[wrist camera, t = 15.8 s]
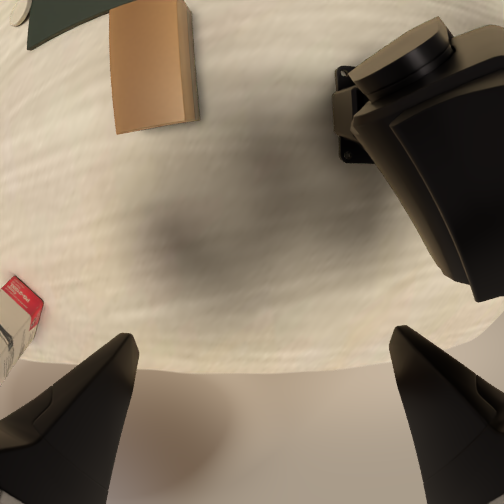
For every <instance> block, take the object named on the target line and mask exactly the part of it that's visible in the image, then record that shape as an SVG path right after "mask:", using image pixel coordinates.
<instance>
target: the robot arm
mask: <svg viewBox="0 0 504 504" xmlns="http://www.w3.org/2000/svg"><path fill="white" fill-rule="evenodd" d="M341 70H343V71H345V72H346V77H344V76H342V75H341ZM335 78H336V92H335V93H334V94H333V95H332V103H333V123H334V132H335V133H336V134H337V135H338V136H339V157H340V159H341V160H342V161H343V162H345V163H367V164H376V166H377V167H378V168H379V170H380V171H381V173H382V174H383V176H384V177H385V179H386V180H387V182H388V183H389V185H390V186H391V188H392V189H393V191H394V192H395V194H396V196H397V197H398V199H399V200H400V202H401V204H402V205H403V207H404V209H405V210H406V212H407V214H408V215H409V217H410V219H411V220H412V222H413V224H414V226H415V227H416V229H417V231H418V233H419V234H420V236H421V238H422V240H423V242H424V244H425V246H426V247H427V249H428V251H429V253H430V255H431V256H432V258H433V259H434V261H435V263H436V264H437V266H438V267H439V268H440V269H441V270H442V272H443V274H444V275H445V276H447V277H449V278H450V279H452V280H454V281H456V282H460V283H464V284H468V285H470V286H471V289H472V292H473V295H474V298H475V301H476V302H483V301H486V300H490V299H493V298H496V297H499V296H504V28H503V27H500V26H496V25H487V26H484V27H481V28H478V29H475V30H472V31H469V32H467V33H464V34H461V35H458V36H456V37H453V35H452V34H451V32H450V31H449V30H448V28H447V27H446V25H445V24H444V23H443V21H442V20H441V19H440V17H439V16H438V17H435V18H433V19H431V20H429V21H427V22H425V23H423V24H421V25H419V26H417V27H415V28H413V29H411V30H409V31H408V32H406V33H405V34H403V35H401V36H400V37H398V38H397V39H395V40H394V41H393V42H391V43H390V44H388V45H387V46H385V47H384V48H382V49H381V50H379V51H378V52H377V53H375V54H374V55H372V56H371V57H370V58H368V59H367V60H365V61H364V62H363V63H361V64H360V65H359V66H357V67H351V66H340V67H339V68H337V69H336V71H335ZM346 152H349V153H350V157H349V158H347V159H346V158H345V157H344V155H345V153H346ZM389 351H390V355H391V360H392V364H393V368H394V373H395V378H396V383H397V386H398V390H399V393H400V396H401V400H402V403H403V406H404V409H405V413H406V416H407V420H408V423H409V427H410V430H411V434H412V437H413V441H414V445H415V449H416V453H417V457H418V461H419V465H420V470H421V474H422V479H423V482H424V489H425V494H426V499H427V504H504V393H503V392H502V391H500V390H499V389H497V388H495V387H494V386H492V385H491V384H489V383H488V382H486V381H485V380H484V379H482V378H481V377H479V376H478V375H476V374H475V373H474V372H473V371H471V370H470V369H468V368H467V367H465V366H464V365H463V364H461V363H460V362H458V361H457V360H456V359H454V358H453V357H452V356H450V355H449V354H447V353H446V352H444V351H443V350H442V349H440V348H439V347H437V346H436V345H434V344H433V343H432V342H430V341H429V340H427V339H426V338H424V337H423V336H422V335H420V334H419V333H417V332H416V331H414V330H413V329H411V328H410V327H408V326H407V325H402V326H397V327H395V329H394V331H393V334H392V337H391V340H390V343H389ZM138 359H139V350H138V347H137V345H136V342H135V340H134V337H133V335H132V334H130V333H120V334H118V335H117V336H116V337H115V338H113V339H112V340H111V341H109V342H108V343H107V344H105V345H104V346H103V347H101V348H100V349H99V350H97V351H96V352H95V353H93V354H92V355H91V356H89V357H88V358H87V359H86V360H84V361H83V362H82V363H80V364H79V365H78V366H76V367H75V368H74V369H73V370H71V371H70V372H69V373H68V374H66V375H65V376H63V377H62V378H61V379H60V380H58V381H57V382H56V383H54V384H53V386H50V387H49V388H48V389H47V390H45V391H44V392H43V393H41V394H40V395H39V396H38V397H36V398H35V399H34V400H32V401H30V402H29V403H27V404H26V405H24V406H22V407H21V408H19V409H18V410H16V411H15V412H13V413H11V414H10V415H8V416H7V417H5V418H3V419H2V420H0V504H106V500H107V495H108V489H109V484H110V480H111V475H112V470H113V466H114V461H115V457H116V453H117V449H118V445H119V441H120V437H121V433H122V429H123V425H124V421H125V417H126V414H127V410H128V407H129V403H130V399H131V396H132V392H133V387H134V381H135V375H136V370H137V364H138Z"/></svg>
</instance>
